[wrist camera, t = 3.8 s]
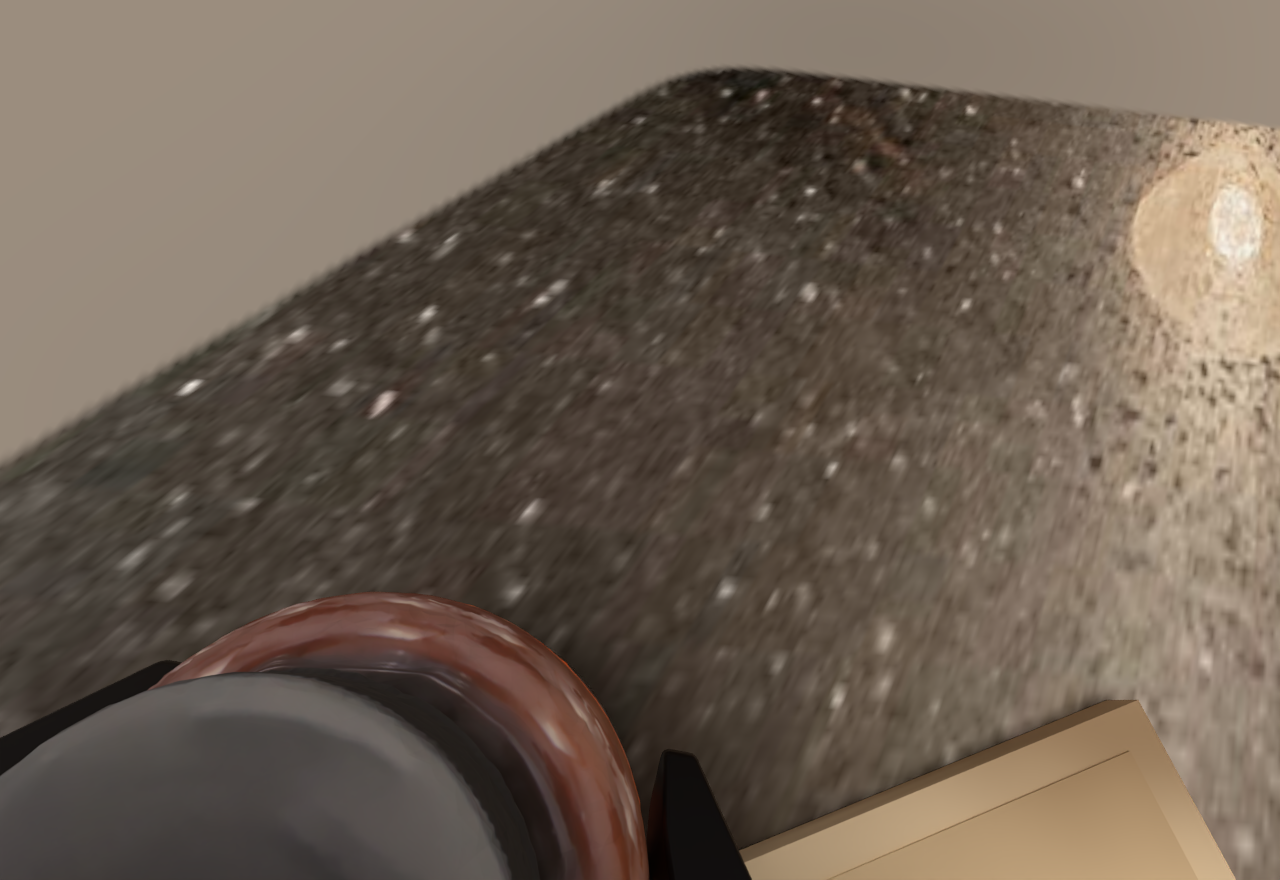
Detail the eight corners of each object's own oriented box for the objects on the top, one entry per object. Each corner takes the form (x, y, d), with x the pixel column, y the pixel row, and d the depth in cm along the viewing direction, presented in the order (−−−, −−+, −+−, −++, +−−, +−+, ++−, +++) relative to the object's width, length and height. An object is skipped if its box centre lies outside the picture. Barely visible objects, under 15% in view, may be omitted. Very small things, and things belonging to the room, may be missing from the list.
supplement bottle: (413, 606, 16) (48, 402, 5) (660, 697, 15) (808, 674, 5) (279, 898, 14) (-819, 1573, 3) (563, 1011, 13) (445, 2223, 3)
